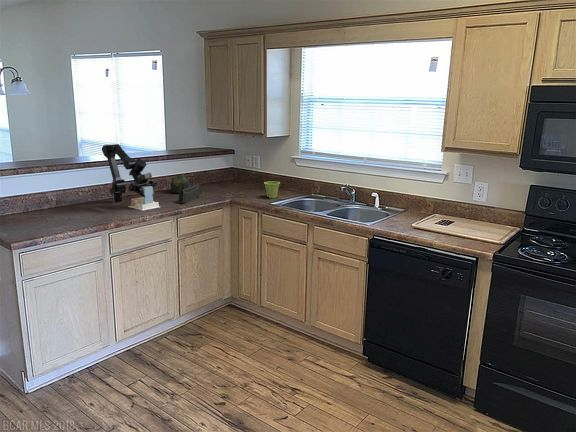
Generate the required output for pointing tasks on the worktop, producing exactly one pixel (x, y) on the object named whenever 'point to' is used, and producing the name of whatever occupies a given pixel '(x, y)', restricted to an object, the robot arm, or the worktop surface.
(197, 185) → the magazine
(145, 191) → the blue rectangular block
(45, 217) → the worktop surface
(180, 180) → the squash
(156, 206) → the rack
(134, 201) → the offcut stack
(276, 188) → the plant pot
